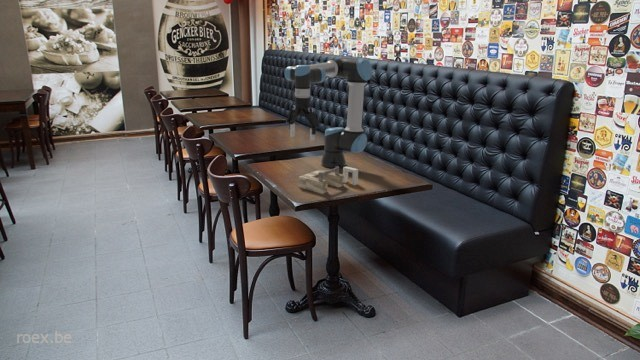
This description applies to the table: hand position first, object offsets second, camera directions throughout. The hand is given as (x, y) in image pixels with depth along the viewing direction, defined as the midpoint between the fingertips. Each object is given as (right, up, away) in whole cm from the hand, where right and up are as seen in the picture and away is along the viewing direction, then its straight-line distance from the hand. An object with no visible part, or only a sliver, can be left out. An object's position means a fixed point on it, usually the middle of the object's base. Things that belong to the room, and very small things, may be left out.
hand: (302, 138), depth 245 cm
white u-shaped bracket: (+25, -23, +16) cm, 38 cm away
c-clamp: (+10, -25, +9) cm, 28 cm away
